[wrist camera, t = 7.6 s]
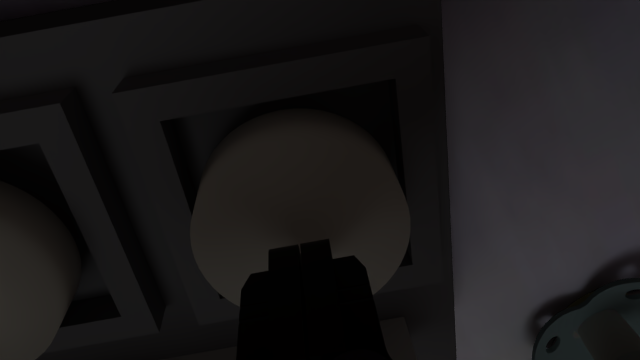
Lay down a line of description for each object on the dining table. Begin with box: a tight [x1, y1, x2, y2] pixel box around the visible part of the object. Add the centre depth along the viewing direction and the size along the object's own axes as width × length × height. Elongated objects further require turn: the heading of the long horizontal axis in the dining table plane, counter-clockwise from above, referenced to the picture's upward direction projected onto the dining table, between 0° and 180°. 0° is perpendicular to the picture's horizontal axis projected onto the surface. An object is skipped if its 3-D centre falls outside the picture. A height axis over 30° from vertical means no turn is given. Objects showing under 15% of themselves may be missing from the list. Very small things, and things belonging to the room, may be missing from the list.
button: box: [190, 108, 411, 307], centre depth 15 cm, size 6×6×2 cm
